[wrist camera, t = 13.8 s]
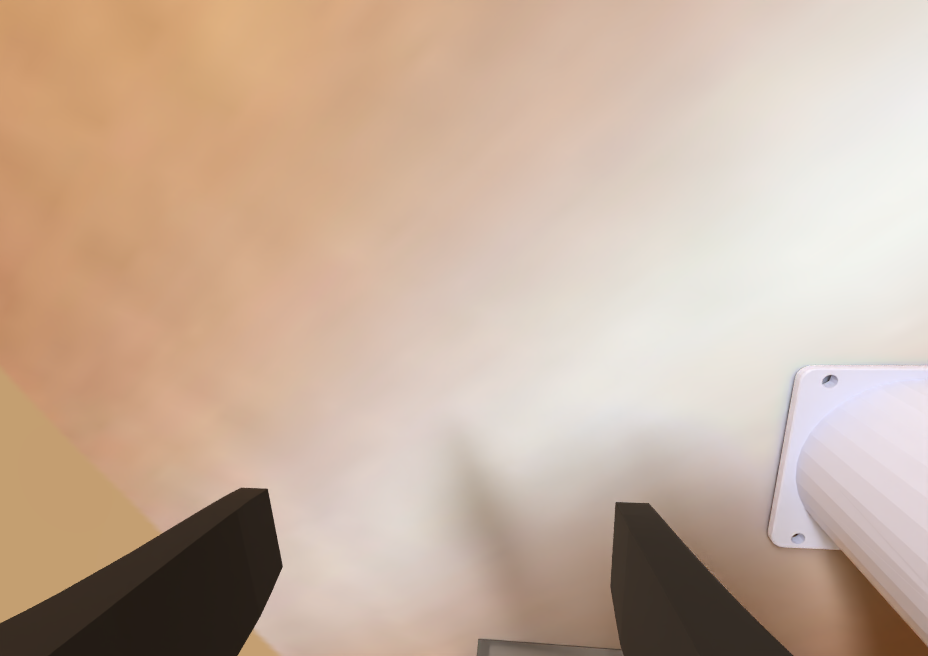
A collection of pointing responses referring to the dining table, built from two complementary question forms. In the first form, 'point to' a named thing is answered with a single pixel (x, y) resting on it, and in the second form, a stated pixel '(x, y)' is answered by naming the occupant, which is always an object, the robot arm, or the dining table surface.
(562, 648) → the case
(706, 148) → the dining table surface
